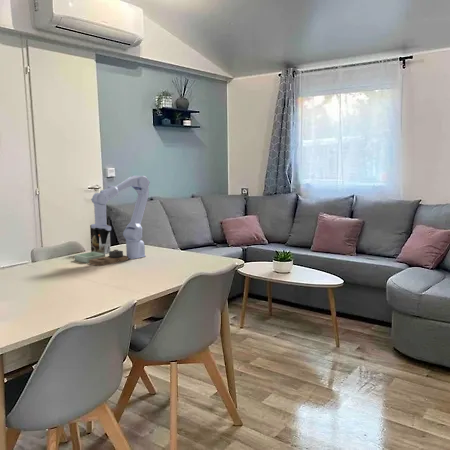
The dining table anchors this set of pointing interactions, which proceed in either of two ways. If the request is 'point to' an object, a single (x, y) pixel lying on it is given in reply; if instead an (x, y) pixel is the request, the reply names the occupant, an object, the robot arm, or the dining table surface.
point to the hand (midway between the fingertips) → (101, 243)
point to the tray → (88, 256)
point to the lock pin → (101, 246)
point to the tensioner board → (109, 258)
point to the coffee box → (96, 245)
